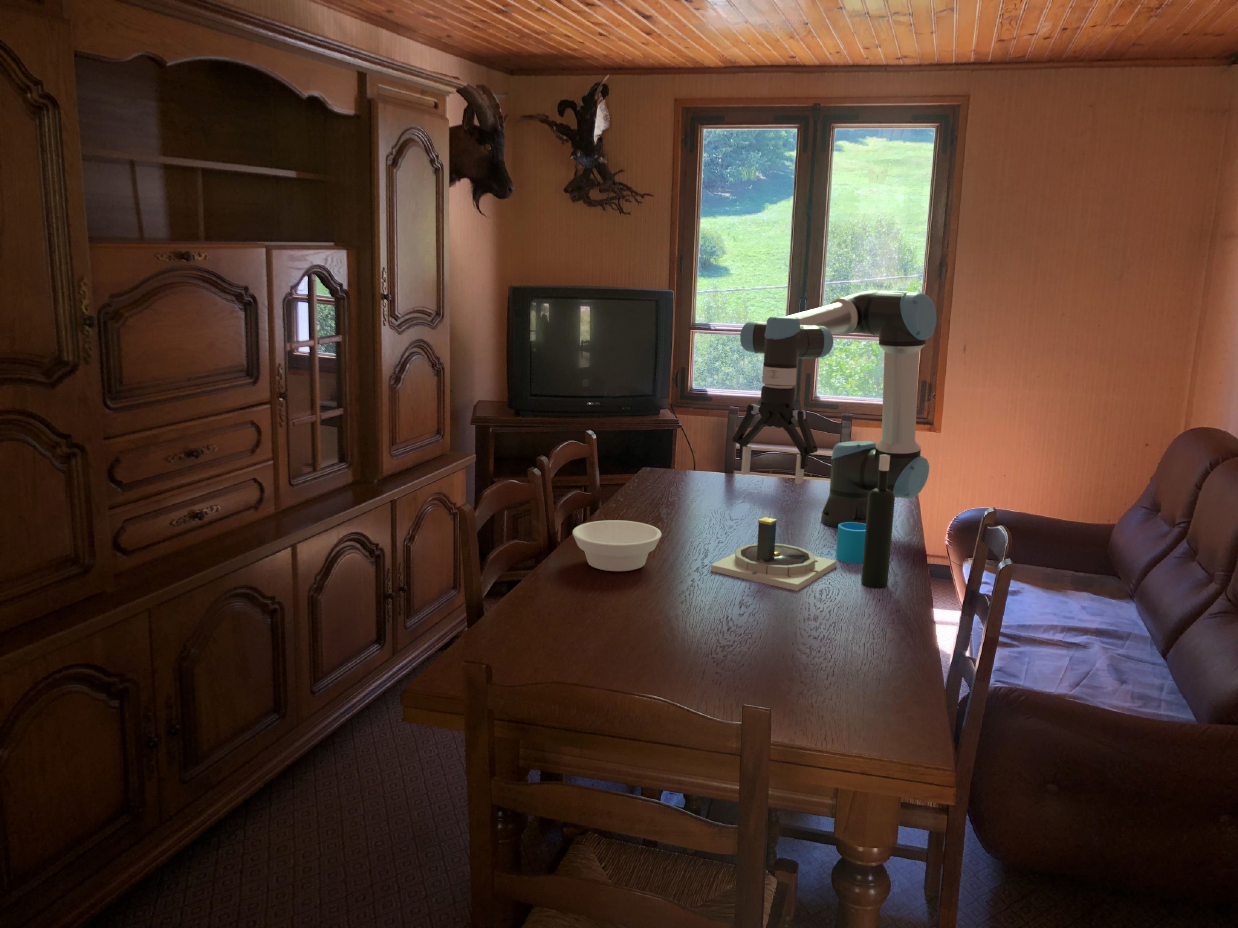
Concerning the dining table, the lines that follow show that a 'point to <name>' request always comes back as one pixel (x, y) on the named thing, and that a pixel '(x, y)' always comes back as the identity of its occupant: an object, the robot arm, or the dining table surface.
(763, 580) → the dial board
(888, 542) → the wine bottle
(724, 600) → the dining table surface
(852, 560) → the mug
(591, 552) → the bowl
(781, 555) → the dial
